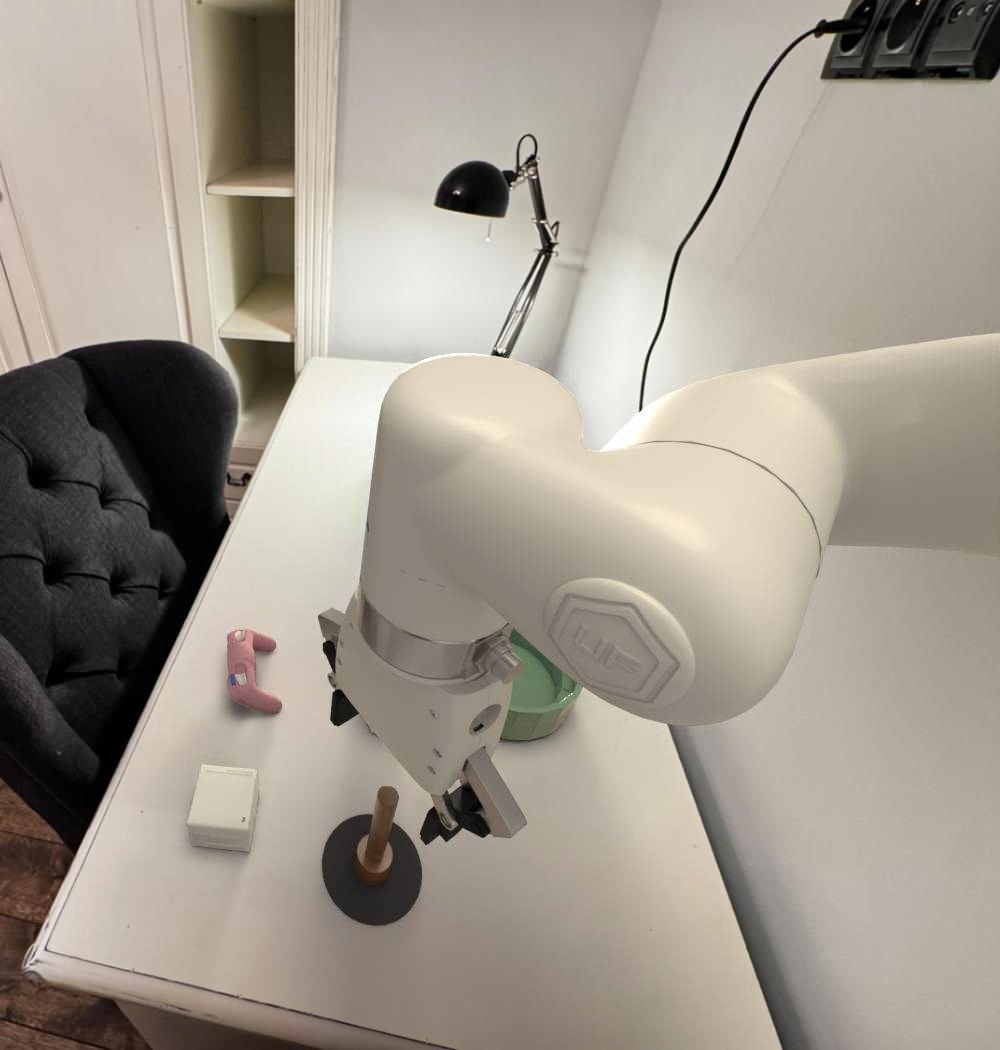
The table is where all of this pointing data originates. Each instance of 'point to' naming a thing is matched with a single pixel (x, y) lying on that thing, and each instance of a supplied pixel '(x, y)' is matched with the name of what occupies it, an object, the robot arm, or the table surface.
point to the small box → (224, 808)
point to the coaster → (363, 898)
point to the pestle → (377, 840)
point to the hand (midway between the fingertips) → (391, 767)
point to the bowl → (537, 694)
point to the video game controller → (248, 670)
